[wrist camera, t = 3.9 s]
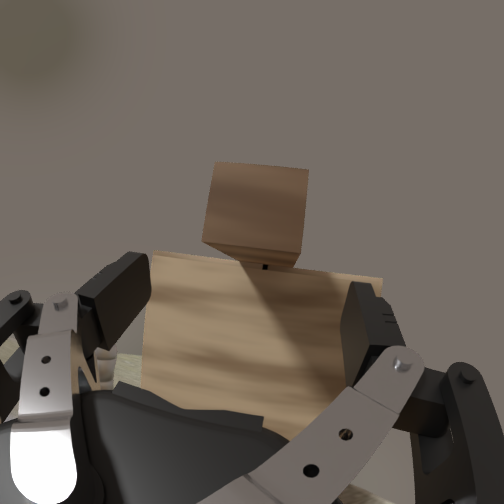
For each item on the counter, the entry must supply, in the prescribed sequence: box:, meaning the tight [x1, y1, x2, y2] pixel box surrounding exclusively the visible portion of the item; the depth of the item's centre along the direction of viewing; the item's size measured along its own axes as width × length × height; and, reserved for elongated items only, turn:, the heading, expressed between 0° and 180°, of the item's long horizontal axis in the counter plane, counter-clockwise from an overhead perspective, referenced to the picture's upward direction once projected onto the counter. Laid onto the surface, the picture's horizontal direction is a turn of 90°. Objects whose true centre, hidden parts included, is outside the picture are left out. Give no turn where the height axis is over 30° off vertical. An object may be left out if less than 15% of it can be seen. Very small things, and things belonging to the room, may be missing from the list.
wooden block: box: [141, 250, 383, 441], centre depth 29 cm, size 18×18×32 cm
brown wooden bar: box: [202, 162, 309, 269], centre depth 25 cm, size 28×4×4 cm, turn 174°
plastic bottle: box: [95, 344, 118, 390], centre depth 43 cm, size 6×7×20 cm
